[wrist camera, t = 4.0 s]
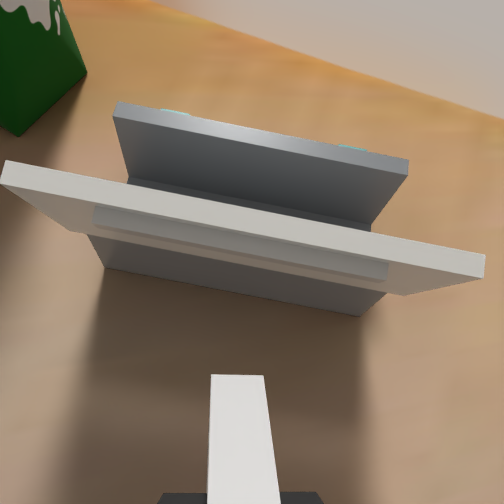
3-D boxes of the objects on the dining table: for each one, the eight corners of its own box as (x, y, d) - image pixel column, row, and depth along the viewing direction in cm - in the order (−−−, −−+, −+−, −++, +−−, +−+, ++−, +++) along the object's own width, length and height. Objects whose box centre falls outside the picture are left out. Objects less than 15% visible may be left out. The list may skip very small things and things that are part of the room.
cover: (74, 214, 22) (66, 243, 22) (5, 159, 15) (-7, 201, 15) (405, 279, 22) (401, 308, 22) (485, 254, 16) (481, 296, 15)
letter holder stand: (104, 267, 29) (76, 215, 22) (136, 165, 32) (120, 93, 25) (359, 316, 29) (403, 279, 23) (367, 211, 32) (409, 152, 26)
